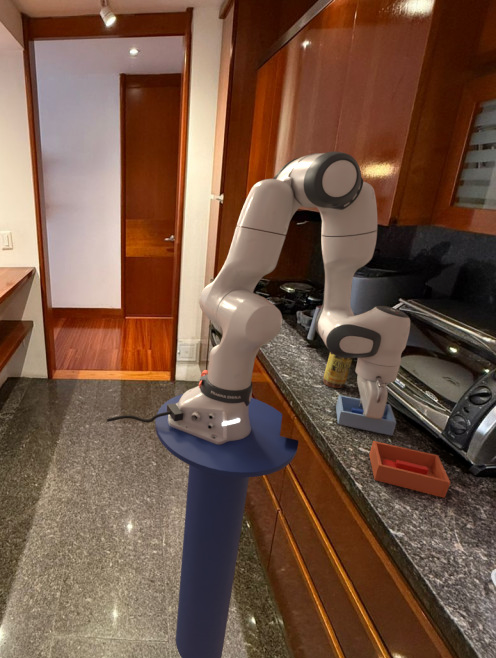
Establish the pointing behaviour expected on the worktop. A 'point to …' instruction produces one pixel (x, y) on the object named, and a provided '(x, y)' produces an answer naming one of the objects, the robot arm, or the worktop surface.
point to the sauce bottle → (336, 371)
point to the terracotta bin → (430, 483)
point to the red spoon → (406, 466)
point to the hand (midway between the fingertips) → (363, 415)
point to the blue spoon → (360, 411)
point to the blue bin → (363, 417)
